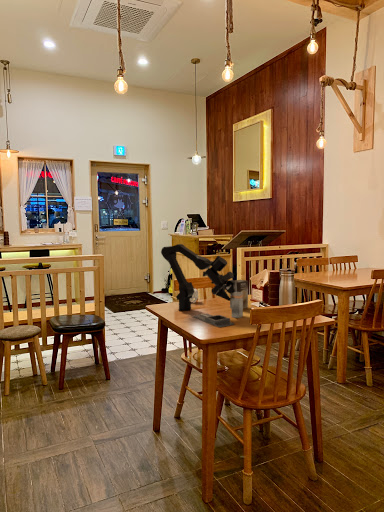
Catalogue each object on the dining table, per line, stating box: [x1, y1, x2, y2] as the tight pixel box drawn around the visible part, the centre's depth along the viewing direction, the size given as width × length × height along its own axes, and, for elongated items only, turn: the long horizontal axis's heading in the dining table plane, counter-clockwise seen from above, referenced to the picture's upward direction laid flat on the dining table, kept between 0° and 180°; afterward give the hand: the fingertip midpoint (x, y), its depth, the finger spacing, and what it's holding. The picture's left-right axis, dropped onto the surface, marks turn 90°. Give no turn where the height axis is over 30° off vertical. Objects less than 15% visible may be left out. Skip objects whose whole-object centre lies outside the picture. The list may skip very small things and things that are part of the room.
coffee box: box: [229, 279, 249, 309], centre depth 219 cm, size 9×6×16 cm
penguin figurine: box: [190, 288, 199, 304], centre depth 236 cm, size 6×8×12 cm
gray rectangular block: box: [231, 292, 244, 319], centre depth 198 cm, size 5×5×13 cm
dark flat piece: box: [192, 313, 235, 328], centre depth 192 cm, size 24×9×2 cm, turn 31°
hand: (233, 298), depth 199 cm, fingers open, 9 cm apart
